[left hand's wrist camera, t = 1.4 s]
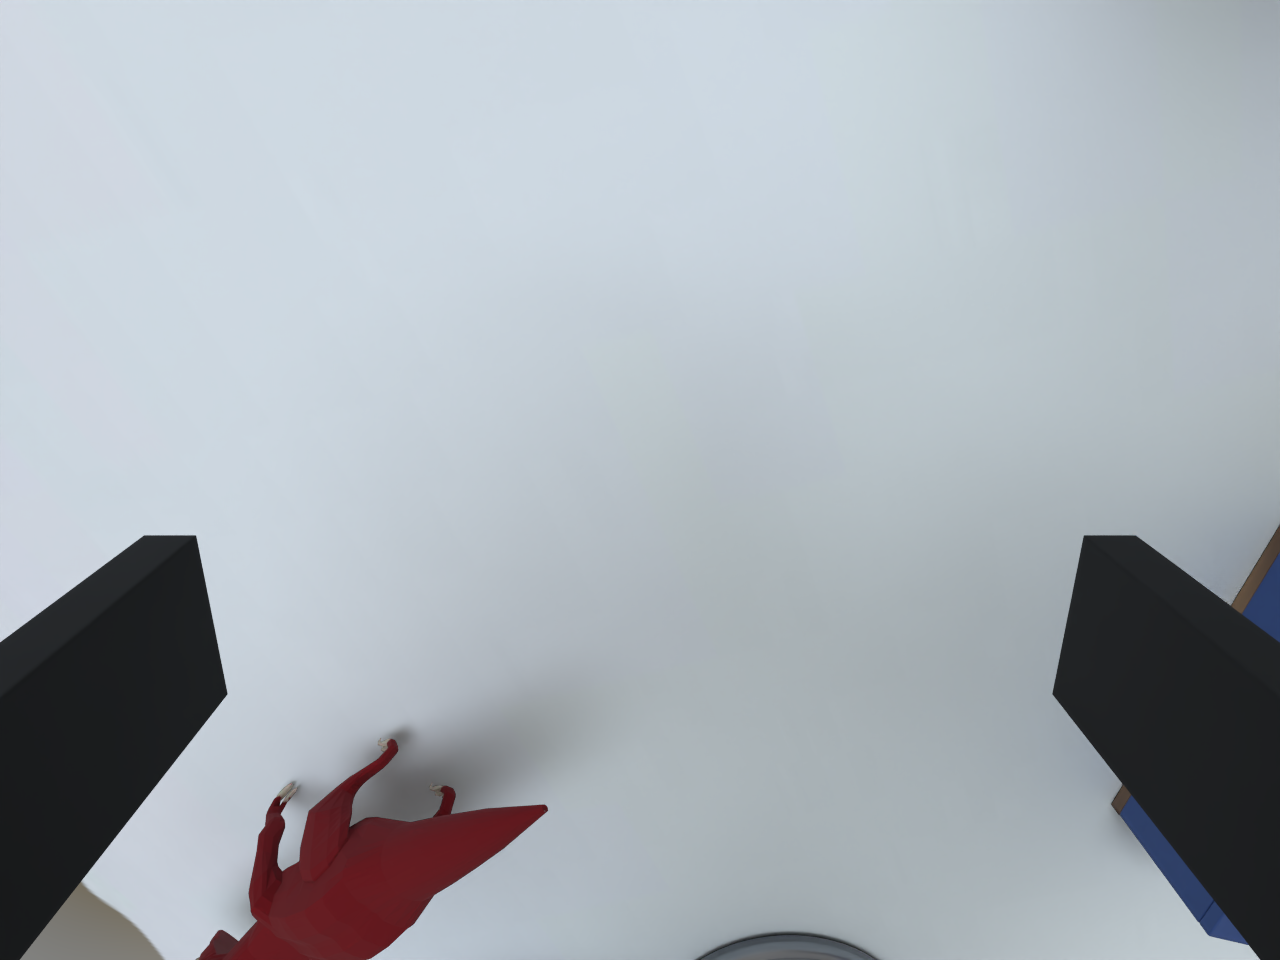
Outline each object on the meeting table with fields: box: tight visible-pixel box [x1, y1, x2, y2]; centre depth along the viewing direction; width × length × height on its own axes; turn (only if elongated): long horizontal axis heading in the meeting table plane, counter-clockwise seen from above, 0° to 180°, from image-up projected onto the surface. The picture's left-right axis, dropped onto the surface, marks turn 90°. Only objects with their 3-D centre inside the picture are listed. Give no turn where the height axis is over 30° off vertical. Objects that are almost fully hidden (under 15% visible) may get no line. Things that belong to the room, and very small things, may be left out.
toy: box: [196, 738, 548, 960], centre depth 37 cm, size 7×25×15 cm
